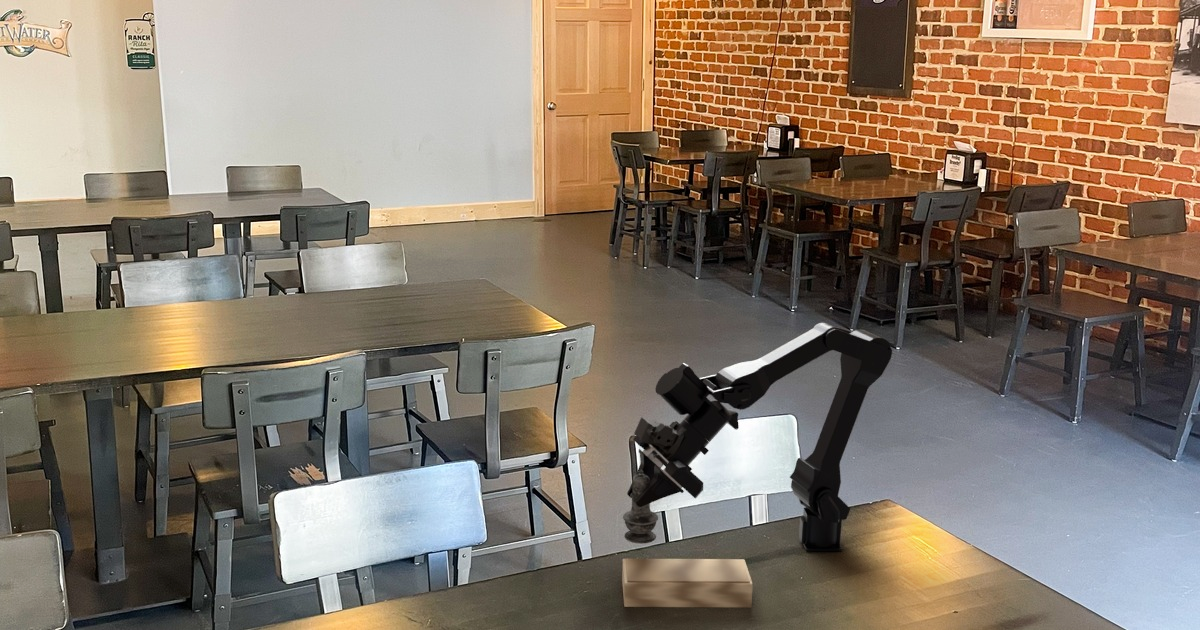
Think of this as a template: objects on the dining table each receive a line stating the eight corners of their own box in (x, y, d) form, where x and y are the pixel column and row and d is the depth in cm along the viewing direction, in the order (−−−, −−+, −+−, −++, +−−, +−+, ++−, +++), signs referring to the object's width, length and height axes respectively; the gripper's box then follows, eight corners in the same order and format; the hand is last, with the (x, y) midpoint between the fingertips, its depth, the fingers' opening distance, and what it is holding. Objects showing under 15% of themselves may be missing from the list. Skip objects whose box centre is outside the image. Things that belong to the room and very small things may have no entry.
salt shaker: (639, 526, 184) (640, 460, 181) (665, 536, 180) (666, 469, 177) (615, 536, 180) (616, 469, 177) (640, 547, 176) (642, 479, 173)
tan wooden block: (743, 581, 177) (744, 558, 176) (751, 607, 169) (752, 582, 168) (622, 581, 177) (622, 557, 176) (624, 606, 168) (624, 581, 167)
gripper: (645, 385, 184) (583, 452, 183) (687, 419, 167) (619, 494, 166) (686, 424, 188) (626, 490, 187) (731, 461, 171) (665, 534, 170)
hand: (633, 500), depth 178 cm, fingers closed on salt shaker, 4 cm apart
